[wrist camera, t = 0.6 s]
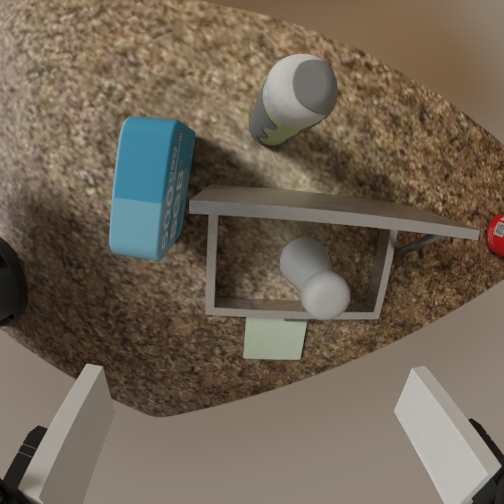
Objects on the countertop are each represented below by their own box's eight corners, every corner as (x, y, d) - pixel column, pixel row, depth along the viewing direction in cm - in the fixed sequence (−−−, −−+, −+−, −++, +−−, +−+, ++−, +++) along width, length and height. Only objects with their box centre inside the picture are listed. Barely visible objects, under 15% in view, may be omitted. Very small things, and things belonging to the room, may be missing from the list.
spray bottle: (251, 103, 32) (266, 34, 13) (293, 109, 32) (356, 52, 13) (246, 144, 33) (256, 119, 14) (289, 149, 34) (350, 134, 14)
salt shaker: (286, 226, 36) (311, 260, 24) (330, 240, 37) (372, 278, 24) (270, 271, 38) (285, 323, 25) (313, 283, 38) (344, 337, 26)
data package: (182, 233, 36) (157, 266, 24) (146, 228, 36) (107, 258, 24) (197, 132, 33) (176, 117, 21) (159, 128, 32) (122, 113, 21)
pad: (243, 356, 41) (243, 358, 41) (247, 305, 39) (247, 307, 38) (299, 357, 42) (300, 359, 41) (308, 308, 39) (309, 309, 39)
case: (207, 307, 39) (190, 398, 22) (212, 182, 34) (189, 200, 18) (375, 312, 40) (436, 386, 24) (397, 201, 36) (487, 231, 19)
